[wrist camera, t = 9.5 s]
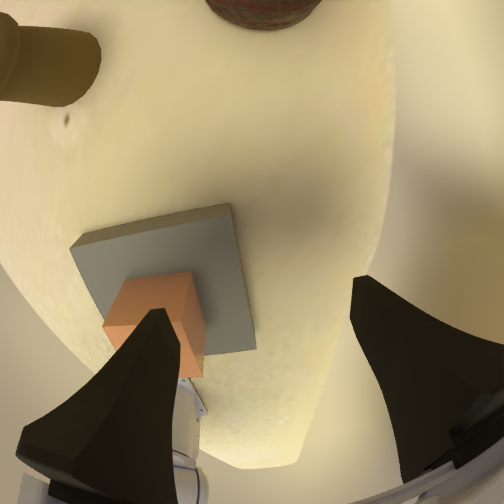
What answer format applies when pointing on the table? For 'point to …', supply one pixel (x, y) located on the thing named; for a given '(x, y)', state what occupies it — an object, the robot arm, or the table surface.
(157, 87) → the table surface
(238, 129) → the table surface
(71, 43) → the cork
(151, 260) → the grey square plate
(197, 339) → the terracotta cube
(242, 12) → the candle
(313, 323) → the table surface
